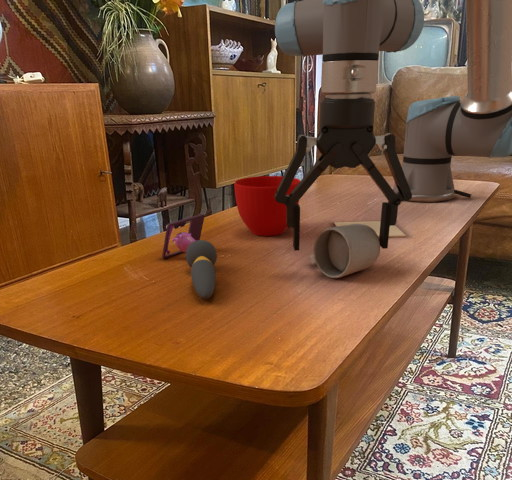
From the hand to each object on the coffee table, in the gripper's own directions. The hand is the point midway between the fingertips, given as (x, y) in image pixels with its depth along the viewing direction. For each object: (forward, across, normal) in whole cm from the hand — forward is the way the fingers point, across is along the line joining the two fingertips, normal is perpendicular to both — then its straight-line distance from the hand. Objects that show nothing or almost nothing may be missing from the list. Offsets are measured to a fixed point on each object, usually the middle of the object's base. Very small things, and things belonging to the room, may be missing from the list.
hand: (339, 247), depth 81 cm
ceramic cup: (+4, -9, +27) cm, 29 cm away
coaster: (+4, +10, +25) cm, 27 cm away
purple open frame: (+4, -25, +11) cm, 28 cm away
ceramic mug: (+4, 0, 0) cm, 4 cm away
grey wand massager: (+4, -21, -3) cm, 22 cm away
